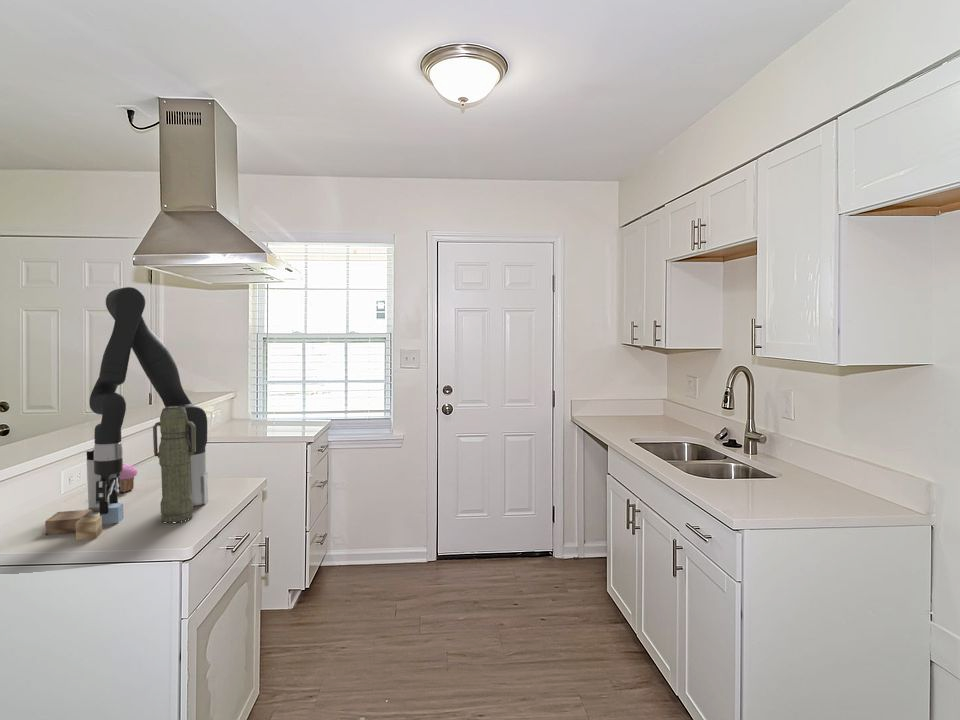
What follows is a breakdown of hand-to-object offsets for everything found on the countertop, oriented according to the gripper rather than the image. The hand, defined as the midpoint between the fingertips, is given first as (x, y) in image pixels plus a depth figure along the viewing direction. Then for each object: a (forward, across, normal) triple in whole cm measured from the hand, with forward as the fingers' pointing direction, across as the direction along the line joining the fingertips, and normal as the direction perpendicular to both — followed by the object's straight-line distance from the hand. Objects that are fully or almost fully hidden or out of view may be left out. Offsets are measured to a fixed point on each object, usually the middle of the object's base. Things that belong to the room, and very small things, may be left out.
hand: (109, 509), depth 187 cm
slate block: (+4, 0, -1) cm, 4 cm away
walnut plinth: (+4, -4, +9) cm, 11 cm away
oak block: (+4, -13, +1) cm, 14 cm away
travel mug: (+4, +16, +8) cm, 18 cm away
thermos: (+4, -3, -20) cm, 20 cm away
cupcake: (+4, +37, +7) cm, 38 cm away
